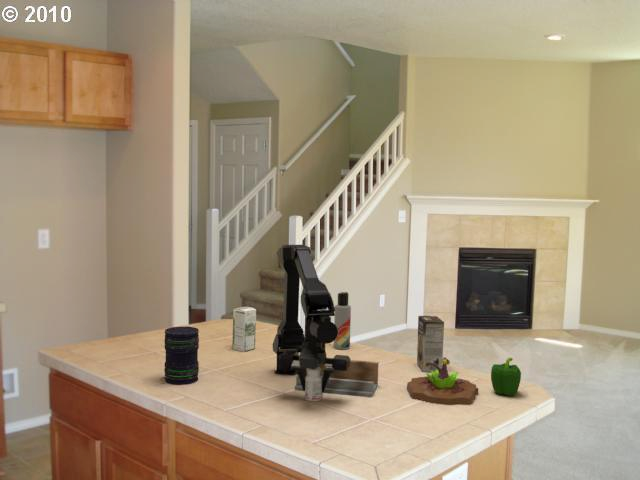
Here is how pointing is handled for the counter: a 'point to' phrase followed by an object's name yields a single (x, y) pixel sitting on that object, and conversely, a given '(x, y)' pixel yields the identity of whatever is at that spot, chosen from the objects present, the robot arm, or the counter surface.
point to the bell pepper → (505, 378)
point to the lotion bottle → (342, 322)
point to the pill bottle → (313, 384)
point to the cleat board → (351, 379)
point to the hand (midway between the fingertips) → (313, 391)
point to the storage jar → (181, 355)
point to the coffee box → (430, 342)
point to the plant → (442, 387)
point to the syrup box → (244, 329)
